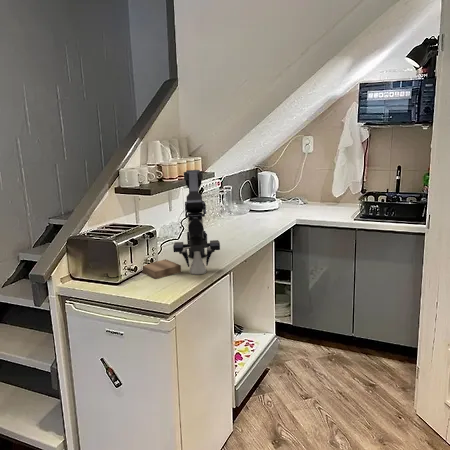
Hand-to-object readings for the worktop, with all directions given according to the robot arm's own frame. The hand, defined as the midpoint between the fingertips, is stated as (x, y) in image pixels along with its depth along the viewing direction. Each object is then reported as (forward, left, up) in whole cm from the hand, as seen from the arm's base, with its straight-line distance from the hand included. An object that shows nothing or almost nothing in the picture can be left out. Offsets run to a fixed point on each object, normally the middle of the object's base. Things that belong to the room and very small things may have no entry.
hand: (197, 266), depth 187 cm
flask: (0, 0, -3) cm, 3 cm away
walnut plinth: (+11, -11, -2) cm, 16 cm away
